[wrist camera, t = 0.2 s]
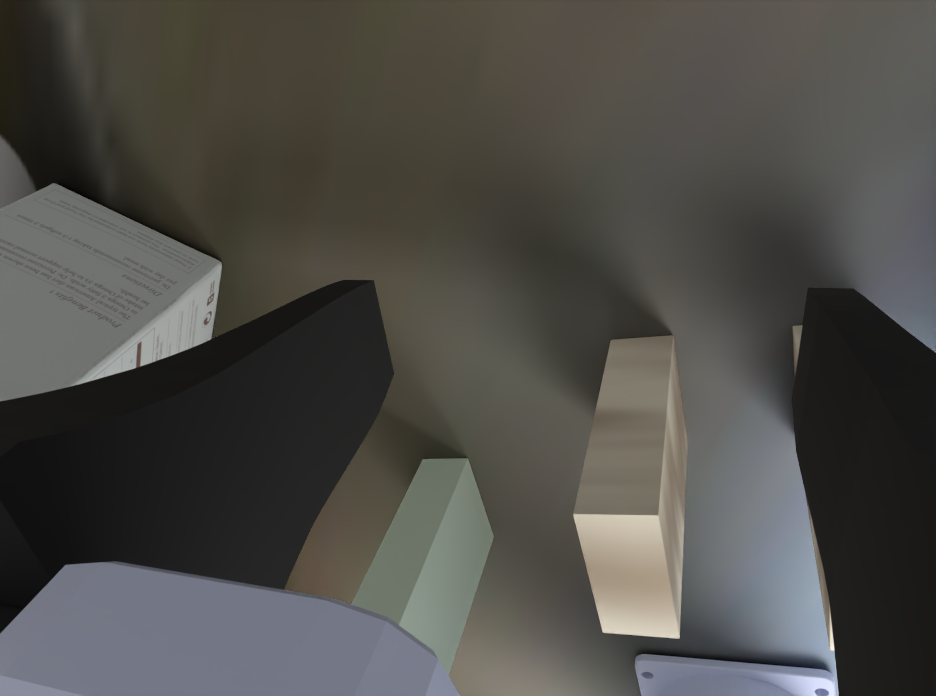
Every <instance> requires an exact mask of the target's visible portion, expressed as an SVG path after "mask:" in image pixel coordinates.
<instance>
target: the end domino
mask: <svg viewBox="0 0 936 696" xmlns="http://www.w3.org/2000/svg"><path fill="white" fill-rule="evenodd" d="M493 538H494V535H493V532H492V529H491V526H490V523H489V520H488V517H487V514H486V511H485V508H484V505H483V502H482V499H481V496H480V493H479V490H478V487H477V484H476V481H475V478H474V475H473V472H472V469H471V466H470V463H469V460H468V458H454V459H423V460H422V462H421V464H420V466H419V468H418V470H417V472H416V474H415V476H414V478H413V480H412V482H411V484H410V486H409V488H408V490H407V492H406V494H405V496H404V498H403V500H402V502H401V504H400V506H399V508H398V510H397V512H396V514H395V517H394V519H393V521H392V523H391V525H390V527H389V529H388V531H387V533H386V535H385V537H384V539H383V541H382V543H381V545H380V547H379V549H378V551H377V553H376V555H375V557H374V559H373V561H372V563H371V565H370V567H369V569H368V571H367V573H366V575H365V577H364V579H363V582H362V584H361V586H360V588H359V590H358V592H357V594H356V596H355V598H354V600H353V602H352V605H354V606H357V607H360V608H363V609H366V610H369V611H372V612H375V613H378V614H381V615H383V616H386V617H388V618H390V619H391V620H393V621H394V622H395V623H397V624H398V625H399V626H401V627H402V628H403V629H405V630H406V631H408V632H409V633H410V634H412V635H413V636H414V637H416V638H417V639H418V640H420V641H421V642H423V643H424V644H425V645H427V646H428V647H429V648H431V649H432V650H433V651H434V653H435V654H436V656H437V658H438V659H439V661H440V663H441V664H442V666H443V668H444V670H445V671H446V673H447V675H448V676H449V674H450V671H451V667H452V664H453V661H454V658H455V655H456V652H457V649H458V646H459V643H460V640H461V637H462V634H463V631H464V627H465V624H466V621H467V618H468V615H469V612H470V609H471V606H472V603H473V600H474V597H475V594H476V591H477V587H478V584H479V581H480V578H481V575H482V572H483V569H484V566H485V563H486V560H487V557H488V554H489V551H490V547H491V544H492V541H493Z"/></svg>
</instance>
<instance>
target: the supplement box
mask: <svg viewBox="0 0 936 696" xmlns="http://www.w3.org/2000/svg"><path fill="white" fill-rule="evenodd" d="M221 270H222V263H221V262H220V261H219V260H216V259H214V258H212V257H210V256H208V255H206V254H203V253H201V252H199V251H197V250H195V249H193V248H190V247H188V246H186V245H184V244H182V243H180V242H178V241H176V240H174V239H171V238H169V237H167V236H165V235H163V234H161V233H159V232H157V231H155V230H152V229H150V228H148V227H146V226H144V225H142V224H140V223H138V222H135V221H133V220H131V219H129V218H127V217H125V216H123V215H121V214H118V213H116V212H114V211H112V210H110V209H108V208H106V207H104V206H102V205H100V204H98V203H96V202H93V201H91V200H89V199H87V198H85V197H83V196H81V195H79V194H77V193H74V192H72V191H70V190H68V189H66V188H64V187H62V186H60V185H58V184H55V183H53V184H51V185H49V186H47V187H45V188H43V189H41V190H39V191H36V192H34V193H32V194H30V195H28V196H26V197H24V198H21V199H19V200H17V201H15V202H13V203H11V204H9V205H7V206H5V207H2V208H0V401H5V400H10V399H15V398H20V397H25V396H30V395H35V394H40V393H44V392H49V391H53V390H57V389H62V388H66V387H70V386H74V385H78V384H82V383H85V382H89V381H92V380H96V379H99V378H103V377H106V376H110V375H113V374H117V373H120V372H124V371H127V370H131V369H134V368H137V367H140V366H143V365H146V364H149V363H152V362H155V361H158V360H160V359H163V358H166V357H169V356H172V355H174V354H177V353H179V352H182V351H185V350H187V349H190V348H192V347H195V346H197V345H200V344H202V343H204V342H206V341H209V340H211V338H212V331H213V325H214V318H215V312H216V306H217V299H218V293H219V284H220V279H221Z"/></svg>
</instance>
